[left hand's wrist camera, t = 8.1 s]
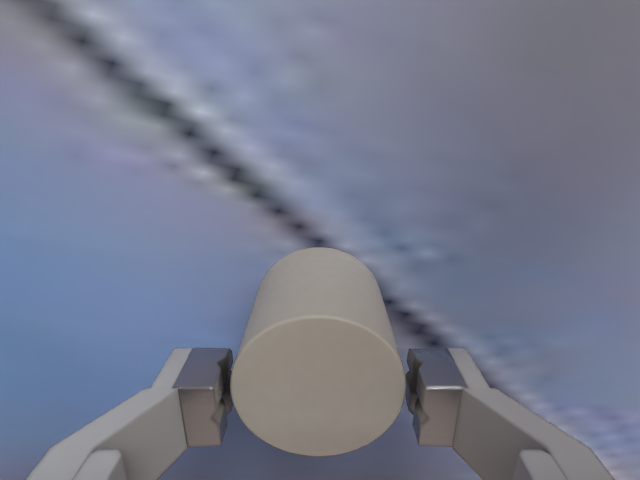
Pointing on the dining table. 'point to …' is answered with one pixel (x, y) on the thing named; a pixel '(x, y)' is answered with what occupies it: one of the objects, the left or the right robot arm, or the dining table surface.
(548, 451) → the left robot arm
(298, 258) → the canister
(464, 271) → the dining table surface
